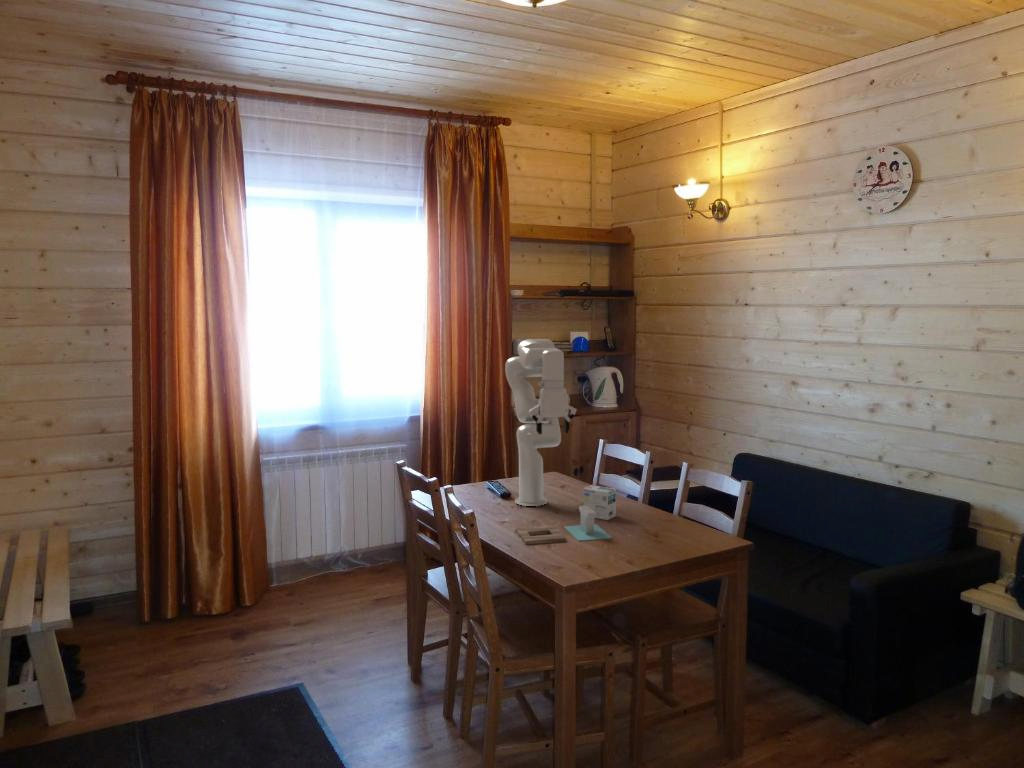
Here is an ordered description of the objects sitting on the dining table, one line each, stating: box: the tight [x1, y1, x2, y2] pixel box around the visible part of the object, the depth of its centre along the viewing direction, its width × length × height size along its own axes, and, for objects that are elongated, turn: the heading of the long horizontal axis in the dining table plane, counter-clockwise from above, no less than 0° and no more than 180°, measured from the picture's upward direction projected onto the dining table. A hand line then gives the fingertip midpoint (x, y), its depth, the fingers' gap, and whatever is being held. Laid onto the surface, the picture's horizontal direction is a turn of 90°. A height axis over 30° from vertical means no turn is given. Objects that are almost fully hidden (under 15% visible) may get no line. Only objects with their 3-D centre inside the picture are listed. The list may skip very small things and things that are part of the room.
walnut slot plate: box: [514, 525, 567, 545], centre depth 260 cm, size 14×14×1 cm
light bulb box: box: [582, 484, 617, 521], centre depth 283 cm, size 11×7×11 cm, turn 56°
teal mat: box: [563, 523, 613, 542], centre depth 264 cm, size 16×12×1 cm
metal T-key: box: [578, 505, 596, 535], centre depth 263 cm, size 3×9×8 cm, turn 14°
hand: (552, 433), depth 270 cm, fingers open, 9 cm apart
